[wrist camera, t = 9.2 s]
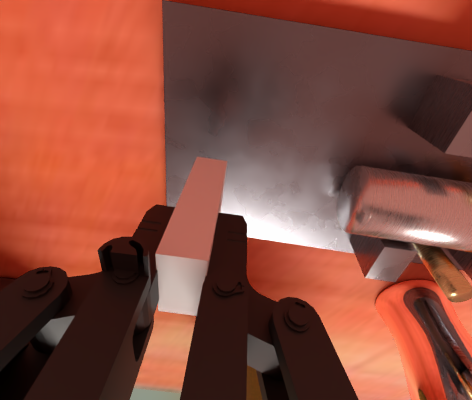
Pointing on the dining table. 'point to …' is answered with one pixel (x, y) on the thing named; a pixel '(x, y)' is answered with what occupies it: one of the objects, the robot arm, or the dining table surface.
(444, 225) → the tube
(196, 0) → the dining table surface
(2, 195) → the dining table surface
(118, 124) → the dining table surface
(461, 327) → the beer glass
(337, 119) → the steam engine
